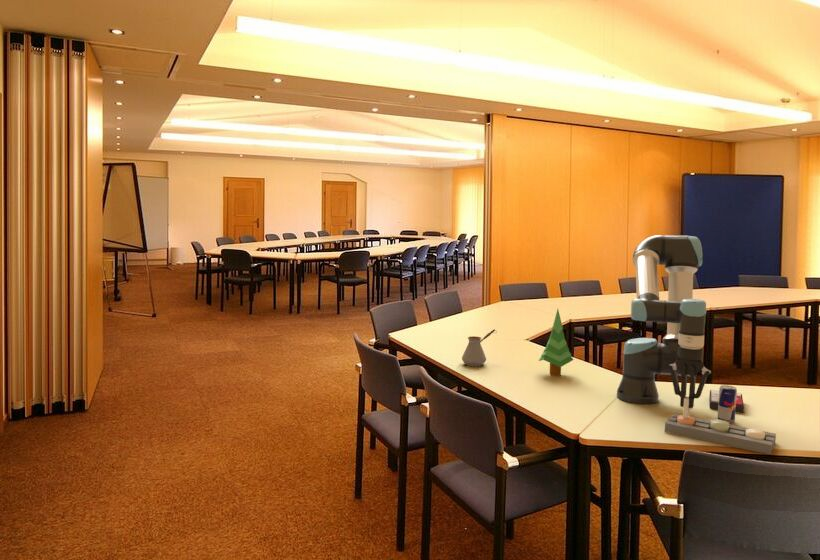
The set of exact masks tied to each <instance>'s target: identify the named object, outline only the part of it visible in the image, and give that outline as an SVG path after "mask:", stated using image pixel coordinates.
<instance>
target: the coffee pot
mask: <svg viewBox="0 0 820 560" xmlns="http://www.w3.org/2000/svg"><path fill="white" fill-rule="evenodd" d="M497 332H498V331H497V330H496V329H495V328H494V329H492V330H491V331H490V332H489V333H487V334H486V335H485V336H484V337H483V338H482V337H480V336H468V337H467V339H468V343H467V346H466V348H465V350H464V352H463V354H462V357H461V360H462V362H463V363H464V364H465V365H466V366H468V367H482V366H483V364H485V363H486V361H487V356H486V355H485V352H484V349H483V347H482V344H481V343H482V342H483V341H484V340H486V339H488V337H490V336H491V335H492V334H494V333H495V334H497ZM481 365H482V366H481Z"/></svg>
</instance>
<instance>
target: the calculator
mask: <svg viewBox="0 0 820 560" xmlns="http://www.w3.org/2000/svg"><path fill="white" fill-rule="evenodd" d="M708 397H709V398H708V400H709V402H708V403H709V404H708V405H709V410H716V411H718V402H719V389H710V390H709V396H708ZM744 408H745V404H744V399H743V394H742V393H741V392H737V397H736V411H735V413H737V412H739V413H740V414H744V410H745V409H744ZM739 413H738V414H739Z"/></svg>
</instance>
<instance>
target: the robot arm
mask: <svg viewBox="0 0 820 560" xmlns="http://www.w3.org/2000/svg"><path fill="white" fill-rule="evenodd" d="M703 256H704V255H703V246H702V241H700V238H699V237H697V236H693V235H692V236H691V235H664V234H663V235H662V234H661V235H660V234H656V235H655V234H654V235H651V236H648V237H646V238H645V239H643V240H642V241H641V242H640V243H639V244H638V245H637V246H636V247H635V249H634V251H633V254H632V264H633V266H634V267H635V285H636V287H635V288H636V292H635V293H636V298H632V299H631V304H630V318H631V320H633V321H638V322H639V321H641V322H653V323H667V325H666V326H667V329H666V335H665V336H663V338H662V343H658V341H657V339H656V338H653V337H652V338H650V337H637V338H631V339H628V340H626V341H625V343H624V346H623V365H622V378H621V380H620V382H619V385H618V387H617V389H616V397H617V398H618V399H619V400H621V401H624V402H626V403H627V402H628V403H633V404H638V405H651V404H652V405H653V404H656V403H658V402H659V395H660V394H659V392H658V388H657V384H656V379H655V378H656V374H657V375H668V376H670V377H671V381H672V385H673V391H674V394H675V396H679V397H680V403H679V405H680V407H681V408H682V415H683V418H687V419H688V418H689V416H691V415H690V413H691V410H692V409H693V408H694V404H695V399H699V398H700V397H701V396H702V392H703V390H704V388H705V387H704V386H705V384H706V381H707V378H708V377H709V376H710V374H711V373H712V370H710V369H708V368H707V367H705V364H704V360H703V359H704V349H703V347H704V346H705V328H706V317H707V316H706V315H707V302H706V300H703V299H697V298H693V295H694V293H693V291H694V274H696V272H698V269H699V268H700V267H701V266H702V265H703ZM658 266H664V271H665V272H666V273H668V289H667V293H668V294H667V295H668V297H667V298H668V299H667V300H663V299H661V300H660V289H659V275H658V274H659V272H658ZM701 371H702V372H701ZM700 372H701V375H702V376H701V378H700V380H699V381H700V382H699V384H698V387H697V389H696V378H697V375H698V374H699V373H700ZM678 376H680V377H681V379H680V380H681V382H679V378H678ZM688 377H689V389H688V390H689V391H688V392H689V393H688V396H687V387H688V386H687V385H688ZM695 391H696V392H695Z"/></svg>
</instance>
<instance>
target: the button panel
mask: <svg viewBox="0 0 820 560" xmlns="http://www.w3.org/2000/svg"><path fill="white" fill-rule="evenodd" d="M679 415H680V414H677V413H673V415H672V416H671V417H669V418H668V420H666V421H665V422H664V433H668V434H671V435H672V434H673V435H678V436H682V437H686V438H692V439H695V440H700V441H705V442H710V443H714V444H719V445H724V446H729V447H733V448H738V449H742V450H746V451H751V452H752V451H753V452H756V453H760V454H766V455H772V453H773V450H774V446H775V444H776V439H777V433H774V432H769V431H764V430H763V431H764V432H765V440H760V439H755V438H750V437H745V434H746V429H751V428H749V427H743V426H738V425H733V424H729V430H728V433H726V432H721V431H716V430H711V429H710V424H711V420H708V419H704V418H697V417H693V416H692V417H693V418H695V423H694V426H692V425H687V424H682V423H677V416H679Z"/></svg>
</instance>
